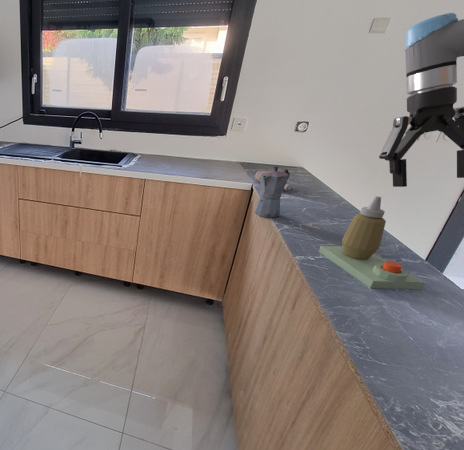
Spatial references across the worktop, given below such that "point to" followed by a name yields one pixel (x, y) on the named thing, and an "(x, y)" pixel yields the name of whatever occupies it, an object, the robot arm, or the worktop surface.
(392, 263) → the switch
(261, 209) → the moka pot
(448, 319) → the worktop surface
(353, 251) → the squeeze bottle
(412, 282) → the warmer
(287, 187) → the decorative bottle
